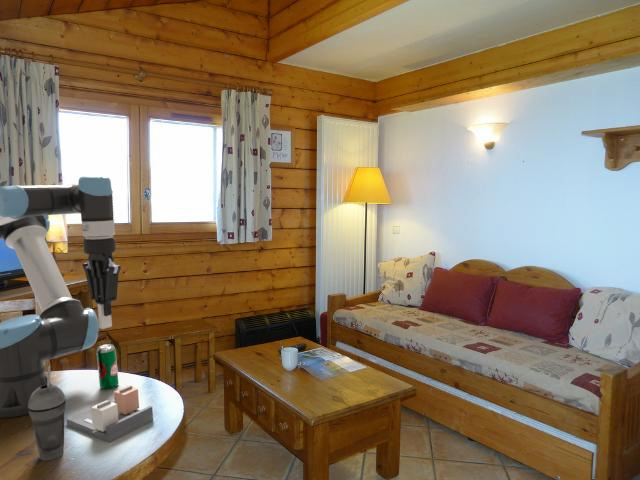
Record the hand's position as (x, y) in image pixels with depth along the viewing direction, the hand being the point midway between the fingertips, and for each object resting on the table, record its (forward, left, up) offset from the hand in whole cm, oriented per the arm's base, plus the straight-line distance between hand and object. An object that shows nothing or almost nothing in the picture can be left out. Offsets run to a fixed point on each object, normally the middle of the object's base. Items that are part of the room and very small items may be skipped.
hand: (105, 327), depth 126 cm
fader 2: (+10, -2, -19) cm, 22 cm away
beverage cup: (+10, -22, -22) cm, 32 cm away
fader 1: (+12, -10, -19) cm, 25 cm away
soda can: (-12, +7, -22) cm, 26 cm away
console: (+8, -6, -21) cm, 24 cm away
